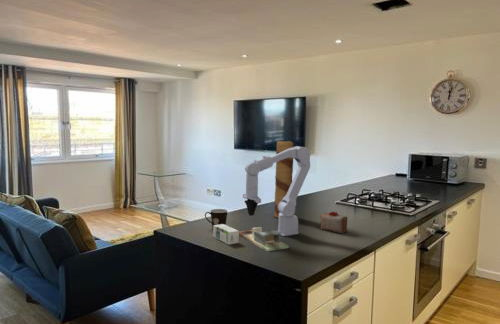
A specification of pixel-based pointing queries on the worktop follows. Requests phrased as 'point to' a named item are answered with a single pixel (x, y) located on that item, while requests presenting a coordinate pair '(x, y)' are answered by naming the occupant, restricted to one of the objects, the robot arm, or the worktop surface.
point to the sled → (267, 239)
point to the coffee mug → (217, 216)
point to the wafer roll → (282, 175)
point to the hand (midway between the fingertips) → (251, 215)
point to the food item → (334, 222)
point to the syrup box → (226, 234)
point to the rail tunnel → (260, 239)
